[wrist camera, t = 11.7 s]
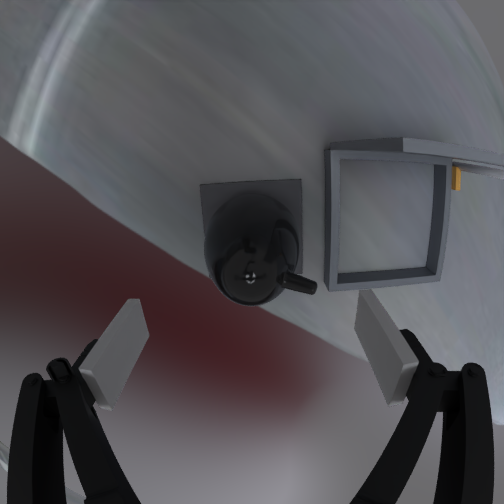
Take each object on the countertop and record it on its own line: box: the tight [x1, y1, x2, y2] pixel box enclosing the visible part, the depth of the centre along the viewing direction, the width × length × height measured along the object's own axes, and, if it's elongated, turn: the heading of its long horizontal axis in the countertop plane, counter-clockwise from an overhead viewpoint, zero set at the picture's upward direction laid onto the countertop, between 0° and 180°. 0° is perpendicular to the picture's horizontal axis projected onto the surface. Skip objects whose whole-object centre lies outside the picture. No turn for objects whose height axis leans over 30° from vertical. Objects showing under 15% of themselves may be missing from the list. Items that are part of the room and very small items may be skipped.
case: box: [324, 137, 504, 292], centre depth 25 cm, size 18×18×20 cm
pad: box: [200, 179, 303, 278], centre depth 36 cm, size 12×12×1 cm
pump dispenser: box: [204, 193, 317, 306], centre depth 28 cm, size 10×10×15 cm
